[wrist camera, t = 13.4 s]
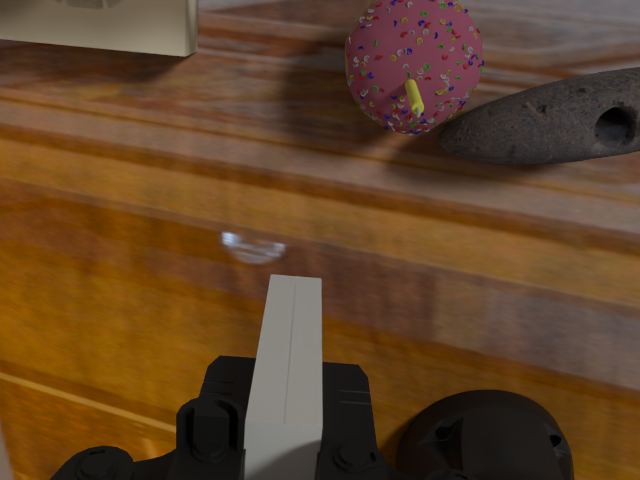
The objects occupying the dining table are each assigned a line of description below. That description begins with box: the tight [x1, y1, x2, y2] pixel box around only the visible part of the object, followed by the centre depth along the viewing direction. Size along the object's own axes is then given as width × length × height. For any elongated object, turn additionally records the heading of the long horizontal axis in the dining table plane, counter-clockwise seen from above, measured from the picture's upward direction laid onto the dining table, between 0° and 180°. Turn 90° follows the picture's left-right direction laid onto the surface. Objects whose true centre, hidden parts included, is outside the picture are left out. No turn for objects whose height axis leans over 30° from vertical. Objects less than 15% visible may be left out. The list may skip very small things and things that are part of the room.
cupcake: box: [345, 0, 484, 136], centre depth 35 cm, size 9×8×12 cm
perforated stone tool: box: [438, 67, 640, 165], centre depth 39 cm, size 15×5×7 cm, turn 99°
